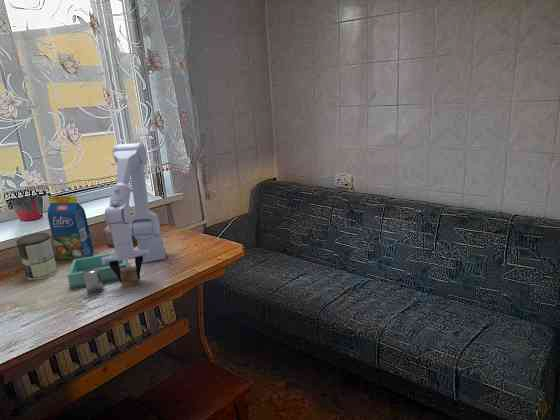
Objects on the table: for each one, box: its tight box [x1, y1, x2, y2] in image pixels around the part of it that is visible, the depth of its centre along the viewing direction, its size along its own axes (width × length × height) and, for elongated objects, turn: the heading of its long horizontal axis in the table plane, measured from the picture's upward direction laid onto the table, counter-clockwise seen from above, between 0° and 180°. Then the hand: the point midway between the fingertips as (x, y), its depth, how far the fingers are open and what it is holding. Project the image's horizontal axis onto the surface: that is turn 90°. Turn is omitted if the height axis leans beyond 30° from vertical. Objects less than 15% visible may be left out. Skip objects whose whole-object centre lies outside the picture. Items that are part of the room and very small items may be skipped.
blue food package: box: [47, 195, 94, 261], centre depth 162 cm, size 6×12×25 cm, turn 78°
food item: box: [103, 225, 138, 247], centre depth 175 cm, size 14×8×10 cm, turn 76°
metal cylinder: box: [83, 268, 105, 295], centre depth 135 cm, size 5×5×7 cm
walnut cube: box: [120, 265, 140, 289], centre depth 139 cm, size 5×5×5 cm
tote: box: [67, 252, 129, 290], centre depth 147 cm, size 18×14×5 cm
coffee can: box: [16, 232, 58, 281], centre depth 150 cm, size 10×10×14 cm
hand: (130, 279), depth 139 cm, fingers closed on walnut cube, 5 cm apart
